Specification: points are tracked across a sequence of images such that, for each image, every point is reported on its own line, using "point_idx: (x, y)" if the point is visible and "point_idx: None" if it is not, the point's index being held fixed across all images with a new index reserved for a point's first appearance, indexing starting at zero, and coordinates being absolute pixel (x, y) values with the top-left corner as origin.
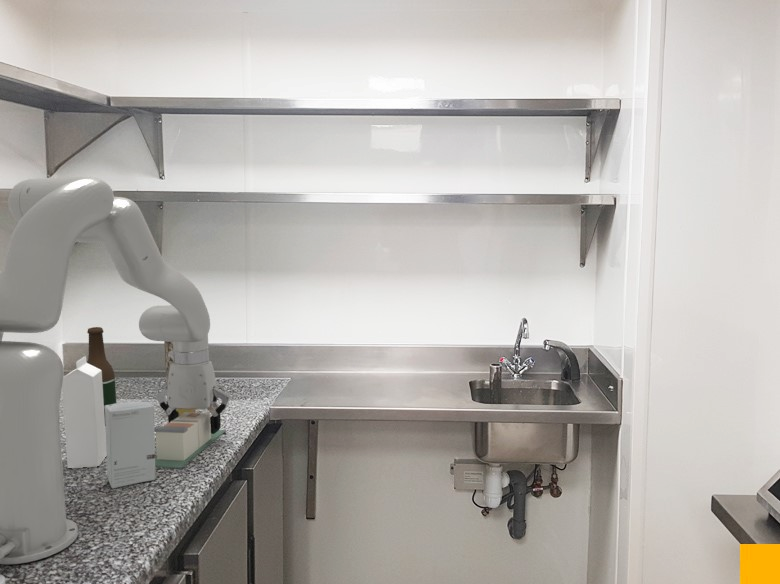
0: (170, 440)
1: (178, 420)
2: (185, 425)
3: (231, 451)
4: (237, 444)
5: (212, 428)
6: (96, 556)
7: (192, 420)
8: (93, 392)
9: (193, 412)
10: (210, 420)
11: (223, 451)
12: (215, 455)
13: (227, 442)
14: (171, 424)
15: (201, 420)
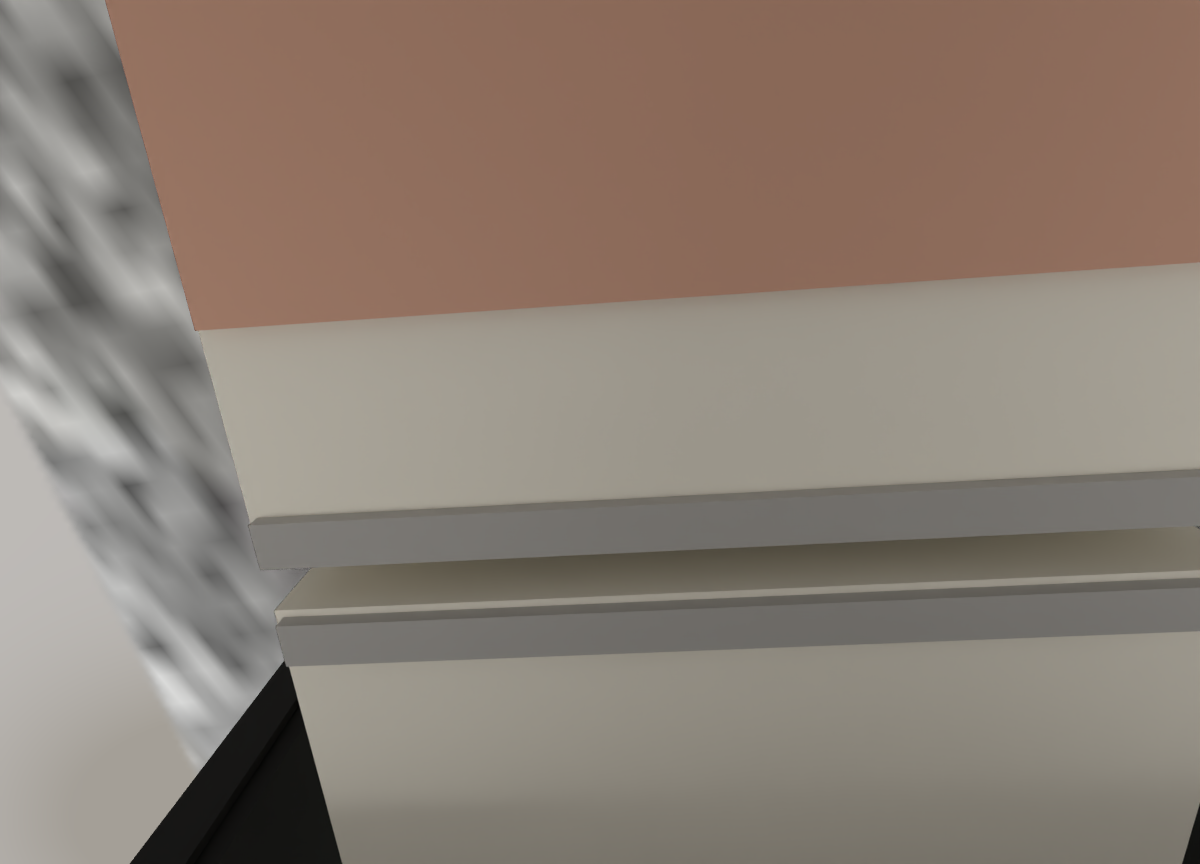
0: None
1: (1027, 592)
2: (410, 18)
3: (21, 383)
4: (122, 612)
5: (271, 700)
6: None
7: (499, 640)
8: None
9: None
10: (221, 854)
11: (120, 365)
12: (119, 197)
13: (281, 651)
14: (1157, 16)
15: (342, 768)
